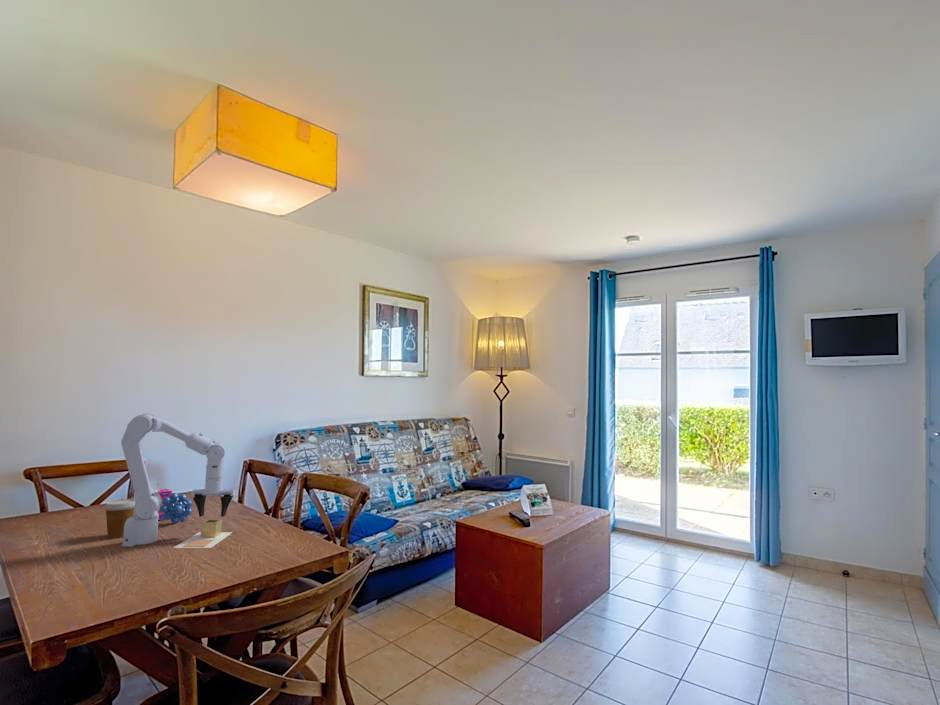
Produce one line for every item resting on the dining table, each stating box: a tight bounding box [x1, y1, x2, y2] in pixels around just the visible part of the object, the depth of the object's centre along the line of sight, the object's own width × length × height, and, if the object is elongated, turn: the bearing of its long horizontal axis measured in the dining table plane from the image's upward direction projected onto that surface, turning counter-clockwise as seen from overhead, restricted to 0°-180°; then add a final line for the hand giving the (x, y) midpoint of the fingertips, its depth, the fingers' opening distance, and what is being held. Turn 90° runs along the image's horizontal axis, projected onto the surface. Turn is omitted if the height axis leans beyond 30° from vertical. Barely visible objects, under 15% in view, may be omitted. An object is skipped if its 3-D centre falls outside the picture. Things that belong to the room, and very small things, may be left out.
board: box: [173, 531, 233, 549], centre depth 176 cm, size 12×18×4 cm, turn 4°
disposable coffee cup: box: [104, 498, 135, 539], centre depth 181 cm, size 10×10×12 cm
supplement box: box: [153, 488, 173, 521], centre depth 204 cm, size 6×6×12 cm
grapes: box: [160, 492, 194, 524], centre depth 197 cm, size 12×7×12 cm, turn 132°
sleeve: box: [200, 518, 223, 537], centre depth 181 cm, size 5×5×5 cm
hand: (212, 515), depth 181 cm, fingers open, 7 cm apart
